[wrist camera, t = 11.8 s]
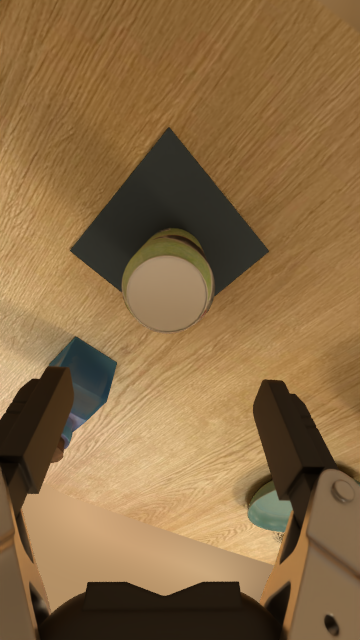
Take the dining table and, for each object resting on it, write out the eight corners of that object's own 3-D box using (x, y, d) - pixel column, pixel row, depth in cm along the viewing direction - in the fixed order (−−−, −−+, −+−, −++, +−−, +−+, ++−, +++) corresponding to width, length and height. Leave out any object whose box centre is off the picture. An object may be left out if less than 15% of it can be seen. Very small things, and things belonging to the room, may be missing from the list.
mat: (70, 250, 26) (69, 250, 26) (169, 127, 21) (169, 126, 20) (171, 331, 31) (171, 332, 31) (268, 250, 26) (269, 251, 26)
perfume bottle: (89, 387, 36) (57, 477, 26) (49, 364, 34) (-4, 454, 24) (117, 362, 34) (93, 452, 24) (75, 336, 31) (29, 423, 21)
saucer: (225, 484, 52) (228, 503, 50) (348, 447, 46) (360, 466, 43) (267, 525, 64) (272, 542, 61) (371, 499, 57) (381, 517, 55)
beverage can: (158, 291, 28) (149, 369, 18) (125, 227, 24) (92, 280, 14) (213, 271, 27) (236, 342, 17) (187, 199, 23) (198, 236, 13)
